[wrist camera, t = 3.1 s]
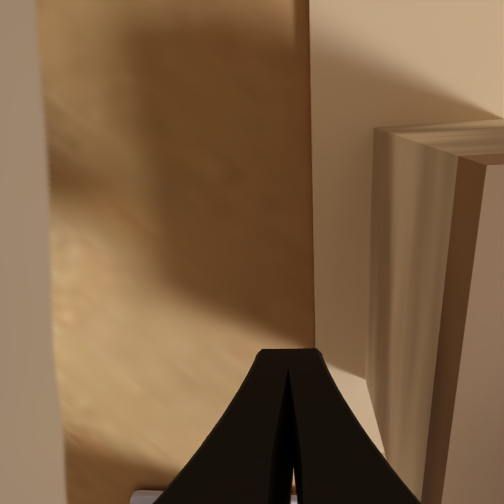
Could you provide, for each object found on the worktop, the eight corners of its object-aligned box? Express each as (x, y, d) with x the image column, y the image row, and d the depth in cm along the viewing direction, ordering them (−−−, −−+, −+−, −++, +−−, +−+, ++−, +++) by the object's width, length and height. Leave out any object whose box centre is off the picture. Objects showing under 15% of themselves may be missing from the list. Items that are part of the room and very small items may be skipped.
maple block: (365, 379, 16) (427, 609, 9) (373, 127, 13) (486, 165, 6) (466, 379, 16) (619, 621, 9) (504, 118, 13) (817, 146, 5)
